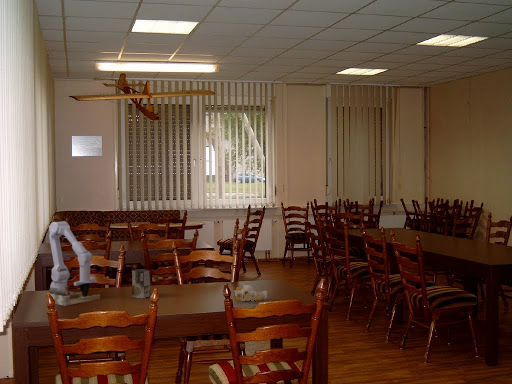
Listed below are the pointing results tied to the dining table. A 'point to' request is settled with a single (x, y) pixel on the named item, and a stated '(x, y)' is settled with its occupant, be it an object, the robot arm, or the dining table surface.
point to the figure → (249, 293)
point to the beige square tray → (74, 295)
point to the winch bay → (64, 299)
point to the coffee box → (140, 283)
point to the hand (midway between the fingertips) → (84, 296)
